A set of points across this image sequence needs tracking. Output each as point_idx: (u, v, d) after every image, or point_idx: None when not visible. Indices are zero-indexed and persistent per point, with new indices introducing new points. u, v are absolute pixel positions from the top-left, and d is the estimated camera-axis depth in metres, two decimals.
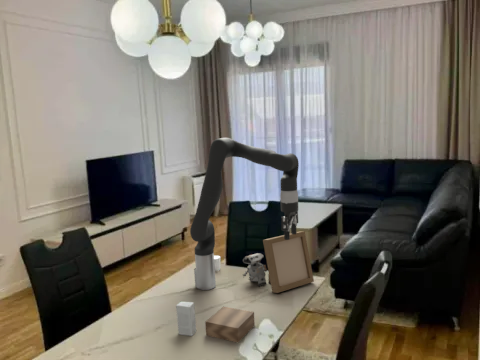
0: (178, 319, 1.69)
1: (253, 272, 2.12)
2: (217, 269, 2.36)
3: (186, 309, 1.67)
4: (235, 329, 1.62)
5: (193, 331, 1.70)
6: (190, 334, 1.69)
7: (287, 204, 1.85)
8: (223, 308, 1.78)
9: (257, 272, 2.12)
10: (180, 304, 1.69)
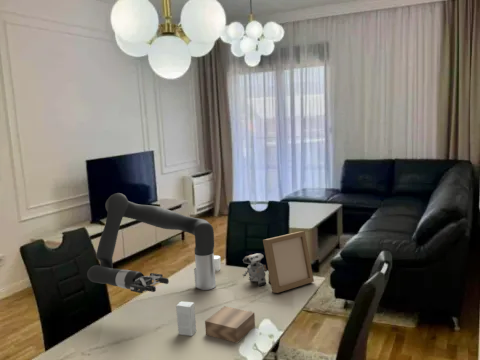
0: (178, 319, 1.69)
1: (253, 272, 2.12)
2: (217, 269, 2.36)
3: (186, 309, 1.67)
4: (234, 329, 1.62)
5: (193, 331, 1.70)
6: (190, 334, 1.69)
7: (125, 281, 1.77)
8: (224, 308, 1.78)
9: (257, 272, 2.12)
10: (180, 304, 1.69)
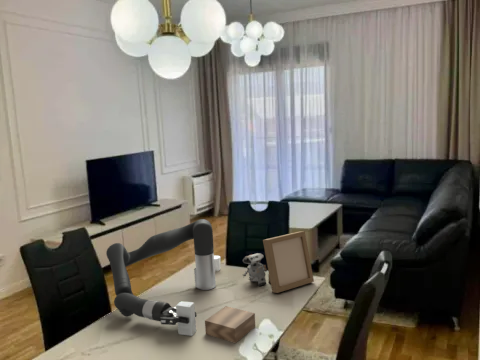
0: None
1: (253, 272, 2.12)
2: (217, 269, 2.36)
3: (186, 309, 1.67)
4: (232, 330, 1.62)
5: (193, 331, 1.70)
6: (190, 334, 1.69)
7: (152, 313, 1.73)
8: (225, 308, 1.78)
9: (257, 272, 2.12)
10: (180, 304, 1.69)
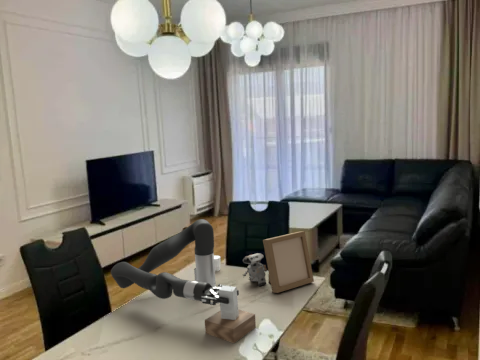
0: (221, 304, 1.68)
1: (253, 272, 2.12)
2: (217, 269, 2.36)
3: (229, 293, 1.66)
4: (231, 330, 1.62)
5: (236, 315, 1.69)
6: (233, 318, 1.68)
7: (194, 293, 1.72)
8: None
9: (257, 272, 2.12)
10: (222, 288, 1.68)
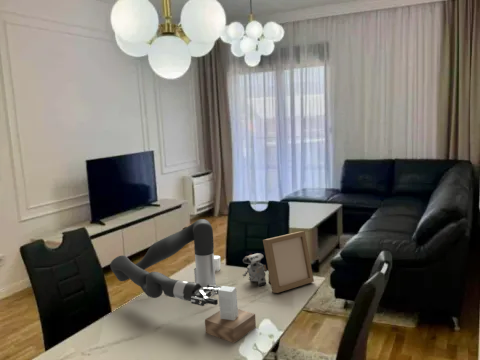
0: (220, 304, 1.68)
1: (253, 272, 2.12)
2: (217, 269, 2.36)
3: (228, 294, 1.66)
4: (231, 330, 1.62)
5: (235, 316, 1.68)
6: (232, 319, 1.67)
7: (184, 293, 1.74)
8: None
9: (257, 272, 2.12)
10: (222, 289, 1.68)
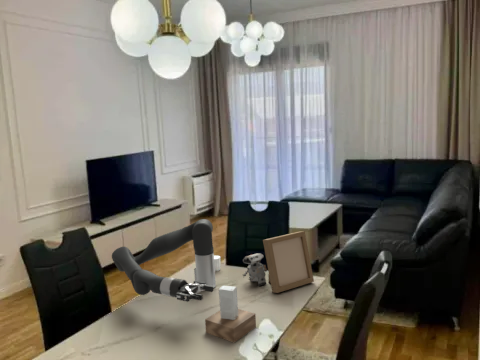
0: (221, 303, 1.69)
1: (253, 272, 2.12)
2: (217, 269, 2.36)
3: (228, 293, 1.67)
4: (231, 329, 1.62)
5: (235, 315, 1.69)
6: (232, 318, 1.68)
7: (170, 290, 1.77)
8: None
9: (257, 272, 2.12)
10: (223, 288, 1.69)
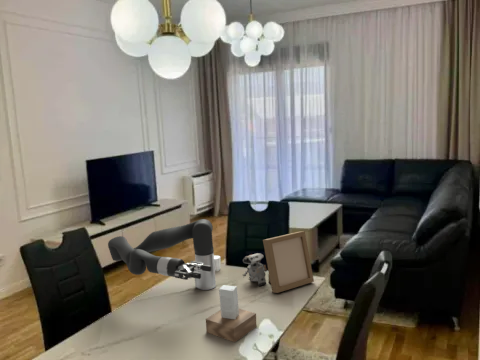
0: (221, 303, 1.69)
1: (253, 272, 2.12)
2: (217, 269, 2.36)
3: (229, 293, 1.67)
4: (231, 329, 1.62)
5: (236, 315, 1.69)
6: (233, 318, 1.68)
7: (168, 268, 1.76)
8: None
9: (257, 272, 2.12)
10: (223, 288, 1.69)
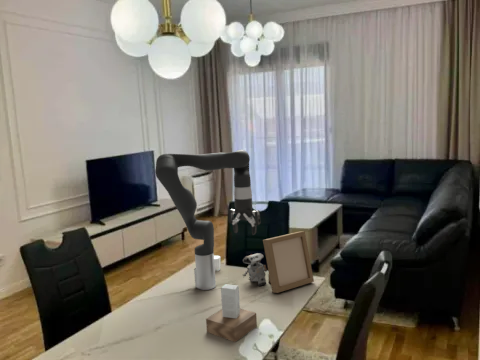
0: (223, 302, 1.70)
1: (253, 272, 2.12)
2: (217, 269, 2.36)
3: (231, 291, 1.68)
4: (232, 329, 1.63)
5: (237, 314, 1.70)
6: (234, 317, 1.69)
7: (251, 199, 1.86)
8: None
9: (257, 272, 2.12)
10: (225, 286, 1.70)
